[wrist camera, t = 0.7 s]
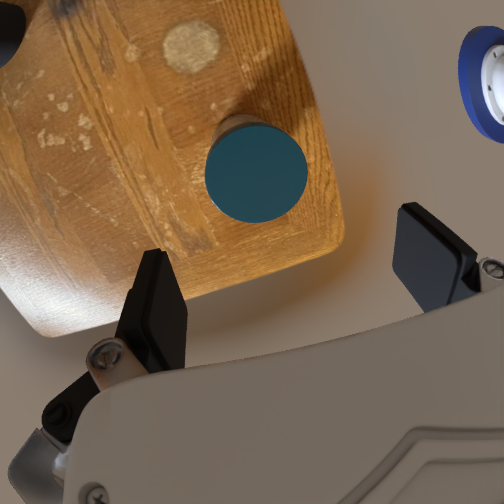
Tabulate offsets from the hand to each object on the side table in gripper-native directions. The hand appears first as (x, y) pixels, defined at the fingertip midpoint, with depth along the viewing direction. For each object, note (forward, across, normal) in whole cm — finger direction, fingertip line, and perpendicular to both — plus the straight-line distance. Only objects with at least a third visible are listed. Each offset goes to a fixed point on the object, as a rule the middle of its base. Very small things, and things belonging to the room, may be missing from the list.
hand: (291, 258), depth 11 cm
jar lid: (+10, 0, 0) cm, 10 cm away
